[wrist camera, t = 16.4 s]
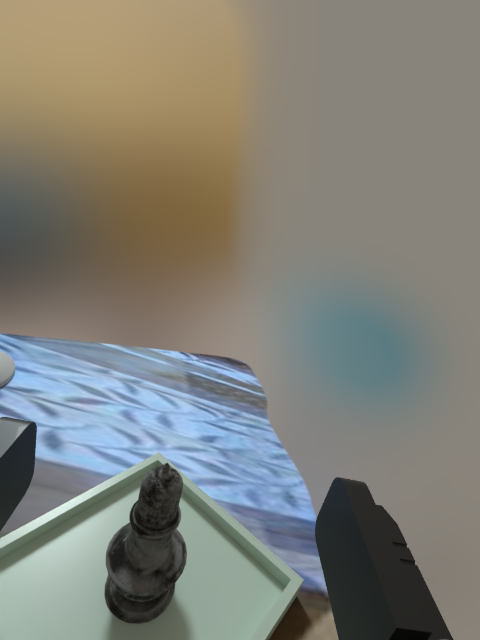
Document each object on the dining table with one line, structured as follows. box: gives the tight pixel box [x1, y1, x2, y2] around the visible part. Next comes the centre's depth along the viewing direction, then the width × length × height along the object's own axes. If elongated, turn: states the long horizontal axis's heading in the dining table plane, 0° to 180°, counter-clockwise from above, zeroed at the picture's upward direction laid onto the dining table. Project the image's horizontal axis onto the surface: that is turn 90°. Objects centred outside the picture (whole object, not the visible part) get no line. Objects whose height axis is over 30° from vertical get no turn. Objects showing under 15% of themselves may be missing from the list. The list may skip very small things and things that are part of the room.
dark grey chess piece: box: [105, 463, 187, 624], centre depth 26 cm, size 6×6×12 cm
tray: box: [0, 452, 304, 640], centre depth 28 cm, size 19×19×2 cm
